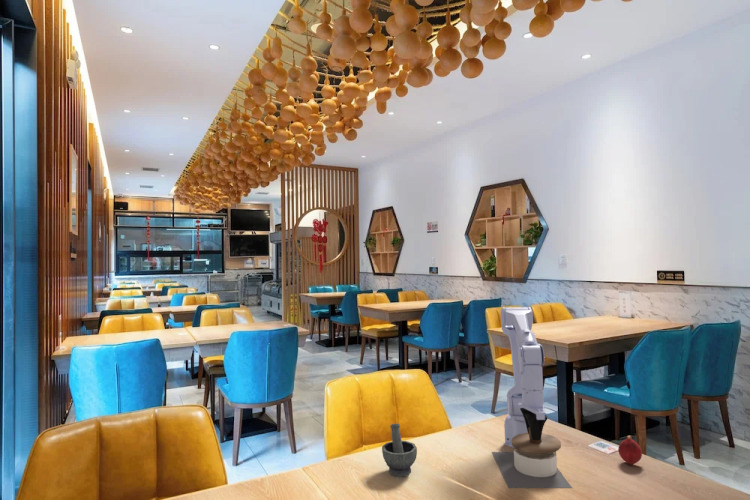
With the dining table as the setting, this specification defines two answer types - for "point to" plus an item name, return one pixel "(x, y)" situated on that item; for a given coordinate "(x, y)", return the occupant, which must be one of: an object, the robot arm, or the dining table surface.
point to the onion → (630, 451)
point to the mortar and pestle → (399, 454)
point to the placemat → (523, 481)
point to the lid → (536, 443)
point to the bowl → (535, 464)
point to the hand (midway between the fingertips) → (534, 437)
